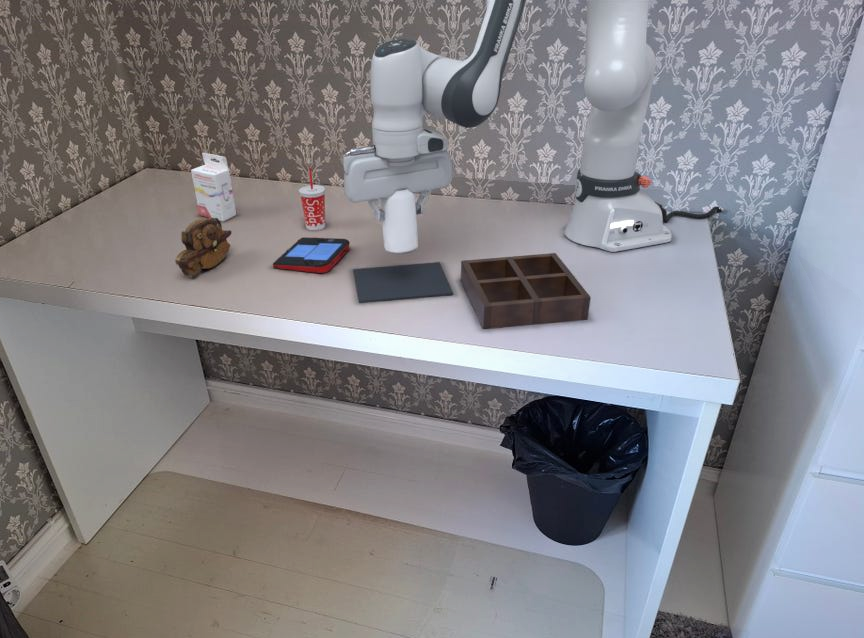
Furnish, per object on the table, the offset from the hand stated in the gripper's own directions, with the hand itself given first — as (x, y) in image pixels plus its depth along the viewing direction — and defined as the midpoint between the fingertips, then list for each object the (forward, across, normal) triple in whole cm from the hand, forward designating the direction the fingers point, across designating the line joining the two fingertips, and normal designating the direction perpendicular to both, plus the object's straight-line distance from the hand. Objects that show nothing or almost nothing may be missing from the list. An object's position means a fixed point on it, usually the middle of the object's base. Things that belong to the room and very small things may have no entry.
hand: (399, 216), depth 127 cm
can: (+6, 0, -1) cm, 7 cm away
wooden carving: (+14, -34, +24) cm, 44 cm away
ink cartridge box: (+14, -27, +53) cm, 62 cm away
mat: (+14, 0, 0) cm, 14 cm away
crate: (+14, +18, -16) cm, 28 cm away
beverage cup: (+14, -7, +36) cm, 39 cm away
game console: (+14, -13, +18) cm, 26 cm away
